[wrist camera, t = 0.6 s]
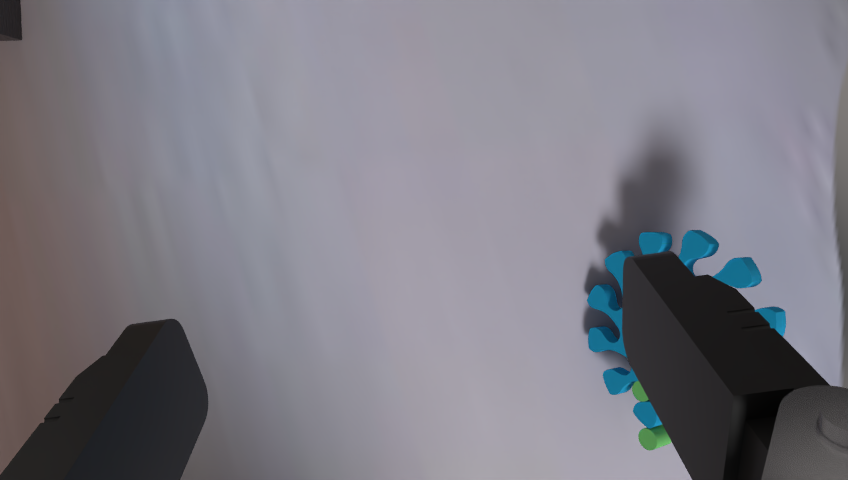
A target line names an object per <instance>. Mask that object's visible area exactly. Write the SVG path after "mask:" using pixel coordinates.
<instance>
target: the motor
mask: <svg viewBox="0 0 848 480" xmlns="http://www.w3.org/2000/svg"><path fill="white" fill-rule="evenodd" d="M10 40H22V36H21V13H20V0H0V41H10Z"/></svg>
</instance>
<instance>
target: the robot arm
mask: <svg viewBox="0 0 848 480" xmlns="http://www.w3.org/2000/svg"><path fill="white" fill-rule="evenodd" d="M622 335H623V343H624V348H625V352H626V355H627V358H628V361H629V364H630V366H631V368H632V369H633V371H634V373H635V375H636V377H637V379H638V380H639V382H640V384H641V386H642V388H643V390H644V392H645V393H646V395H647V397H648V399H649V401H650V403H651V404H652V406H653V408H654V410H655V412H656V414H657V415H658V417H659V419H660V421H661V423H662V425H663V427H664V428H665V430H666V432H667V434H668V436H669V438H670V439H671V441H672V443H673V445H674V447H675V449H676V450H677V452H678V454H679V456H680V458H681V460H682V462H683V463H684V465H685V467H686V469H687V471H688V473H689V474H690V476H691V478H692V480H848V388H843V387H837V386H830V385H829V384H828V383H827V382H826V381H825V380H824V379H823V378H822V377H821V376H820V375H819V374H818V373H817V372H816V370H815V369H814V368H813V367H812V366H811V365H810V364H809V363H808V362H807V361H806V360H805V359H804V358H803V357H802V356H801V355H800V354H799V353H798V352H797V351H796V350H795V349H794V348H793V347H792V346H791V345H790V344H789V343H788V342H787V341H786V340H785V339H784V338H783V337H782V336H781V335H780V334H779V333H778V332H777V331H776V330H775V329H774V328H771V327H770V323H769V322H768V321H767V320H766V319H765V318H764V317H763V316H762V315H761V314H760V313H759V312H755V310H754V307H753V306H752V305H751V304H750V303H749V302H748V301H747V300H746V299H745V298H744V297H743V296H742V295H741V294H740V293H739V292H738V291H737V290H736V289H735V288H733V287H731V286H729V285H727V284H725V283H723V282H721V281H719V280H717V279H715V278H713V277H711V276H709V275H702V276H694V275H693V274H692V272H691V271H690V270H689V269H688V268H687V267H686V266H685V265H684V263H683V262H682V261H681V260H680V259H679V258H678V257H677V256H676V254H674V253H673V252H671V251H667V252H659V253H652V254H645V255H638V256H630V257H627V258H626V259H625V261H624V265H623V302H622ZM207 411H208V394H207V388H206V385H205V382H204V379H203V377H202V374H201V372H200V369H199V367H198V364H197V362H196V359H195V357H194V354H193V352H192V350H191V347H190V345H189V342H188V340H187V337H186V335H185V332H184V330H183V328H182V326H181V324H180V323H179V322H178V321H177V320H175V319H166V320H159V321H151V322H144V323H137V324H131V325H129V326H128V327H127V328H126V329H125V330H124V331H123V333H122V334H121V335H120V337H119V338H118V339H117V341H116V342H115V343H114V345H113V346H112V347H111V349H110V350H109V351H108V353H107V354H106V356H102V357H101V358H99V359H98V360H97V361H96V362H94V363H93V364H92V365H90V366H89V367H88V368H87V369H85V370H84V371H83V372H82V373H80V374H79V375H78V376H77V377H76V378H75V379H74V380H73V382H72V383H71V384H70V386H69V387H68V388H67V389H66V391H65V392H64V393H63V395H62V396H61V397H60V398H59V403H58V404H55V405H54V406H53V408H52V409H51V410H50V411H49V413H48V414H47V415H46V417H45V418H44V419H45V422H44V423H40V424H39V426H38V427H37V428H36V430H35V431H34V432H33V433H32V435H31V436H30V437H29V439H28V440H27V441H26V443H25V444H24V445H23V446H22V448H21V449H20V450H19V452H18V453H17V454H16V455H15V457H14V458H13V459H12V461H11V462H10V463H9V465H8V466H7V467H6V468H5V470H4V471H3V472H2V474H1V475H0V480H180V478H181V476H182V474H183V471H184V469H185V467H186V464H187V462H188V460H189V457H190V455H191V453H192V450H193V448H194V446H195V443H196V441H197V438H198V436H199V434H200V431H201V429H202V427H203V424H204V422H205V419H206V416H207Z"/></svg>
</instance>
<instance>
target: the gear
mask: <svg viewBox="0 0 848 480" xmlns="http://www.w3.org/2000/svg"><path fill="white" fill-rule="evenodd" d="M671 245H672V237H671V234H668V233H664V232H644V233H641V234H640V236H639V246H640V248H641V250H642V254H643V255H645V254H652V253H659V252H667V251H668V250H669V249H670V248H671ZM718 247H719V243H718V242H717V241H716V240H715V239H714V238H713V237H712V236H710V235H709V234H707V233H705V232H703V231H701V230H690V231H688V232H687V233H686V234H685V235H684V237H683V240H682V248H681V253H680V255H679V259H680V260H681V261H682V262H683V263H684V265H685V266H686V267H687V268H688V269H689V270H690V271H691V272H692V274H693V275H694V273H693V265H694V263H695V262H696V261H697V260H698V259H701V258H706V257H710V256H712V255H714V254H715V253H716V251H717V250H718ZM630 256H635V255H634V254H633V252H632V251H618V252H615V253H613V254H611V255H610V256H608V257H607V258H606V259H605V265H606V267H607V269H608V271H610V272H611V273H612V274H613V275H614V277H615V278H616V279H617V281H618V283H619V285H620V288H621V292H622V296H623V265H624V261H625V259H626V258H627V257H630ZM694 276H695V275H694ZM713 278H715V279H717V280H719V281H721V282H723V283H725V284H727V285H730V286H733V287H736V288H747V287H754V286H756V285H758V284H759V283H760V282H761V281H762V279H761V274H760V272H759V270H758V268H757V266H756V264H755V263H754V261H753V260H752V258H751V257H743V258H734V259H732V260H730V261H729V262H728V263H727V264H726V265H725V267H724V268H723V269H722V270H721V271H720V272H719V273H718V274H716V275H715V276H713ZM587 301H588V304H589V305H590V306H591V307H592V308H594V309H597V310H600V311H603V312H604V313H606V314H607V315H608V316H609V317H610V318H611V319H612V320H613V321H614V323H615V324H616V326H617V327H618V329H619V331H620V338H619V340H618V339H617V338H616V337H615V335H614V334H613V332H612V331H611V330H610V329H609V328H608V327H605V326H601V327H595V328H590V331H589V336H588V343H589V349H590V350H592V351H593V352H601V351H606V350H612V351H616V352H618V353H620V354H622V355H623V356H625V357H627V355H626V352H625V348H624V343H623V335H622V308H620V307H619V305H618V303H617V299H616V294H615V291H614V289H613V288H612V287H611V286H610V285H607V284H602V285H596V286H595V287H594V288H593V289H592V291H591V293H590V294H589V297H588V299H587ZM755 312H759V313H760V314H761V315H762V316H763V317H764V318H765V319H766V320H767V321H768V322H769V323H770V327H771V328H774V329H775V330H776V331H777V332H778V333H779V334H780V335H781V336H782V337H783V335H784V332H785V327H786V316H785V311H784V310H783V309H781V308H778V307H767V308H760V309H757V310H755ZM603 378H604V381H605V384H606V387H607V389H608V391H609V393H610V394H612V395H616V394H620V393H624V392H627V391H628V390H630V388H631V387H632V385H633V387H632V391H633V394H634V396H635V398H636V399H637V400H639V401H641V402H639V403H637V404H636V405H635V406H634V409H633V412H634V414H635V416H636V417H637V418H638V419H639V420H640V421H641V422H642V423H643V424H644V425H645V426H646V427H647V428H644V429H642V430H641V431H640V432H639V441H640V443H641V445H642V446H643V447H644V448H645V449H647V450H654V449H656V448H659V447H662V446H665V445H667V444H670V443H671V439H670V438H669V436H668V434H667V432H666V430H665V428H664V427H663V425H662V423H661V421H660V419H659V417H658V415H657V414H656V412H655V410H654V408H653V406H652V404H651V403H650V401H649V399H648V397H647V395H646V393H645V392H644V390H643V388H642V386H641V384H640V382H639V380H638V379H637V377H636V375H635V373H634V371H633V369H632V368H631V371H630V372H629V371H627V370H626V369H624V368H621V367H618V368H613V369H609V370H606V371H604V373H603Z"/></svg>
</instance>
